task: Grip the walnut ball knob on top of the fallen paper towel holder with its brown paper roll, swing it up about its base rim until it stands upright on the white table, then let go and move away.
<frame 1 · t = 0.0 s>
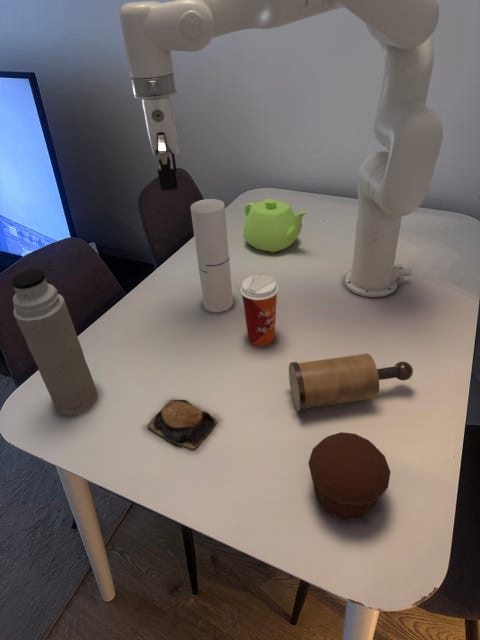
hand: (169, 180, 92), 31 cm above the table, tool pointing down, fingers open, 9 cm apart
paper cup: (261, 338, 100), on the table
muffin: (345, 494, 70), on the table
teapot: (274, 244, 133), on the table
cylindrical container: (218, 304, 111), on the table
paper towel holder: (353, 378, 82), point 4 cm above the table, hinge at -90.1°
thermos bottle: (77, 400, 89), on the table
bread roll: (182, 425, 82), on the table
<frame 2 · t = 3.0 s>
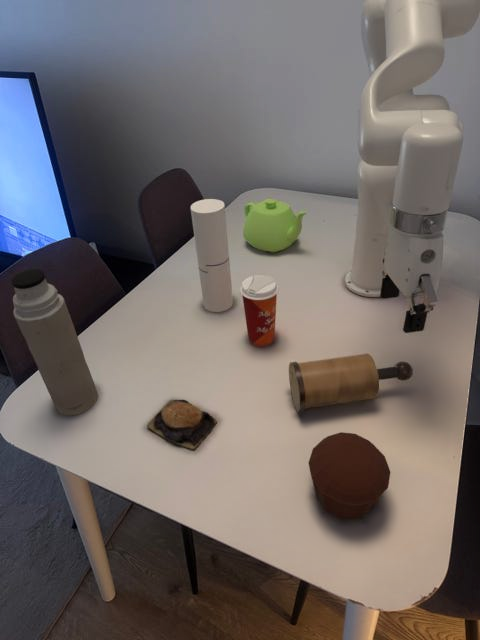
hand: (400, 313, 76), 17 cm above the table, tool pointing down, fingers open, 9 cm apart
nothing on the table moved.
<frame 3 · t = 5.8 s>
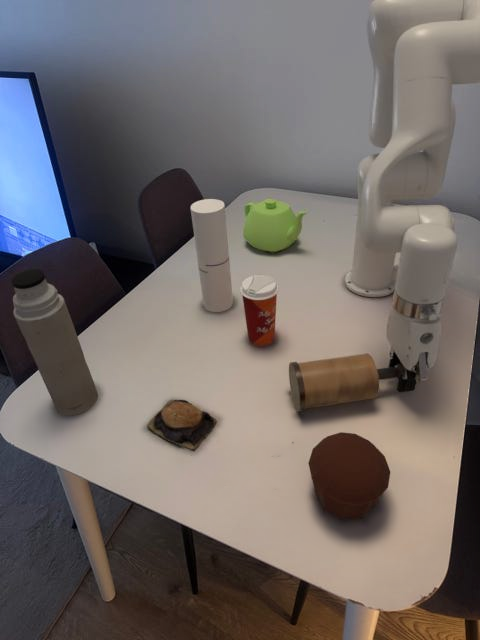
hand: (400, 381, 85), 2 cm above the table, tool pointing down, fingers closed on paper towel holder, 3 cm apart
paper towel holder: (353, 378, 82), point 4 cm above the table, hinge at -90.1°, touching gripper
everything else where it was.
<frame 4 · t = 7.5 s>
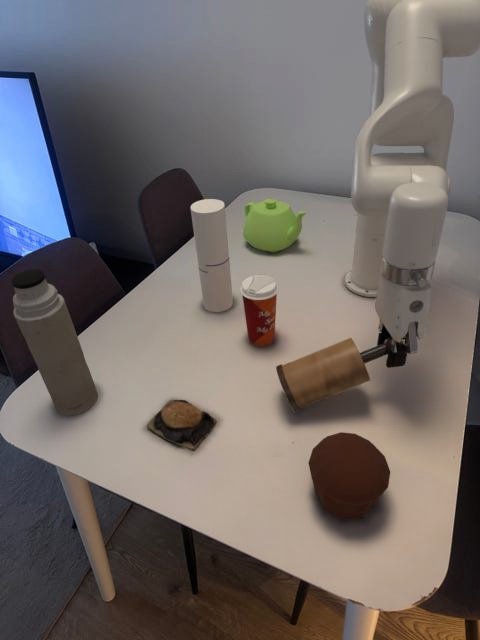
hand: (390, 356, 80), 8 cm above the table, tool pointing down, fingers closed on paper towel holder, 3 cm apart
paper towel holder: (343, 365, 80), point 8 cm above the table, hinge at -70.3°, touching gripper
everything else where it was.
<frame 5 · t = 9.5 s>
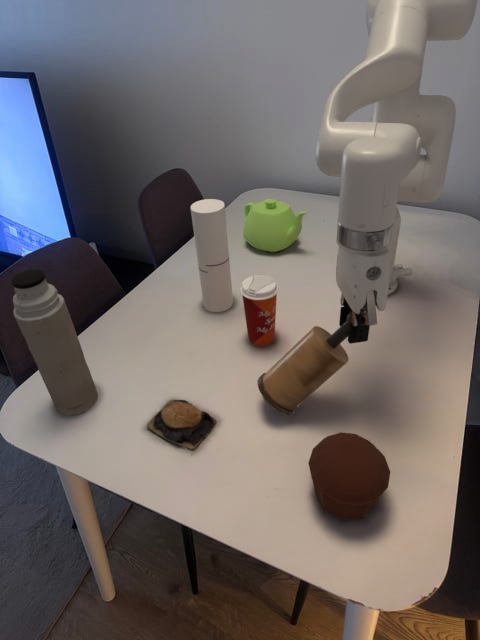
hand: (353, 332, 76), 15 cm above the table, tool pointing down, fingers closed on paper towel holder, 3 cm apart
paper towel holder: (317, 355, 78), point 11 cm above the table, hinge at -42.8°, touching gripper
everything else where it was.
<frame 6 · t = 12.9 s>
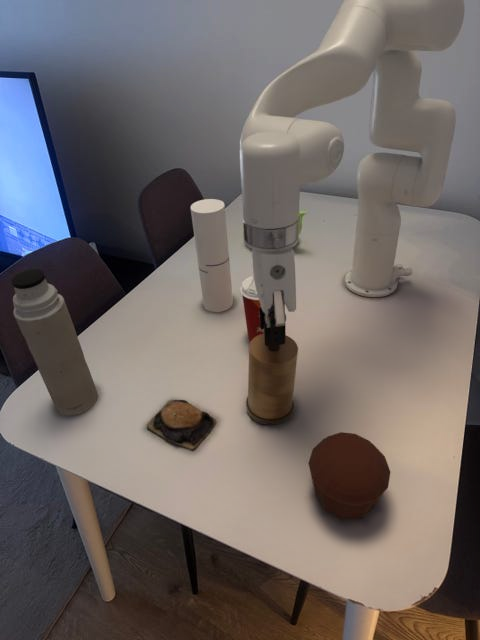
hand: (272, 334, 74), 17 cm above the table, tool pointing down, fingers open, 3 cm apart
paper towel holder: (272, 361, 77), point 11 cm above the table, hinge at -4.0°
everything else where it was.
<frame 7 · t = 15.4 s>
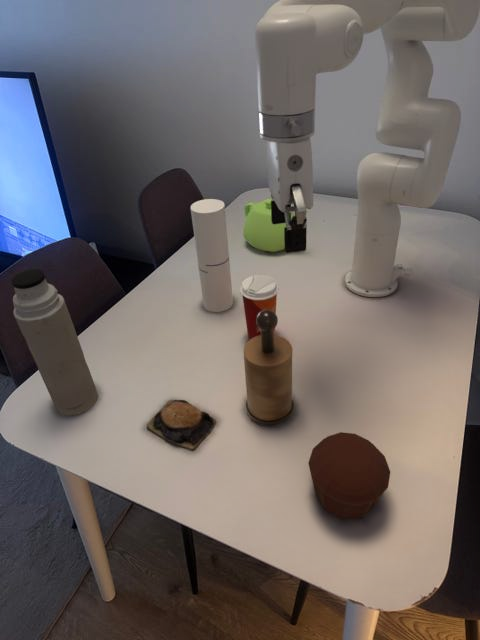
hand: (287, 236, 73), 30 cm above the table, tool pointing down, fingers open, 9 cm apart
paper towel holder: (268, 363, 77), point 11 cm above the table, hinge at -0.1°
everything else where it was.
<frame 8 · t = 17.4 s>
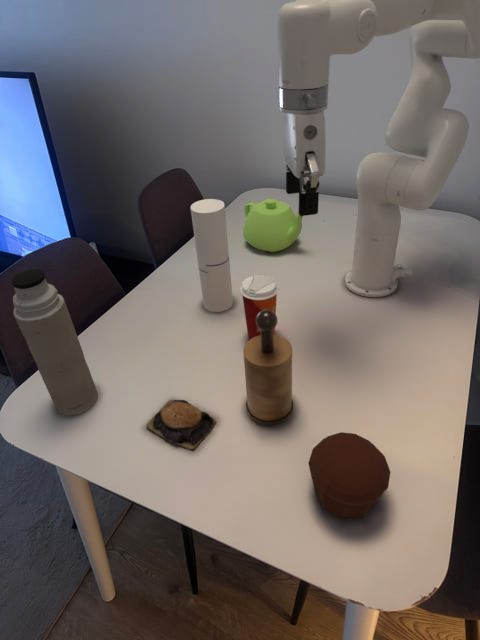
hand: (301, 203, 81), 30 cm above the table, tool pointing down, fingers open, 9 cm apart
paper towel holder: (268, 363, 77), point 11 cm above the table, hinge at 0.0°
everything else where it was.
at the end: paper towel holder at +0° (first picture: -90°); the gripper is holding nothing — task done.
